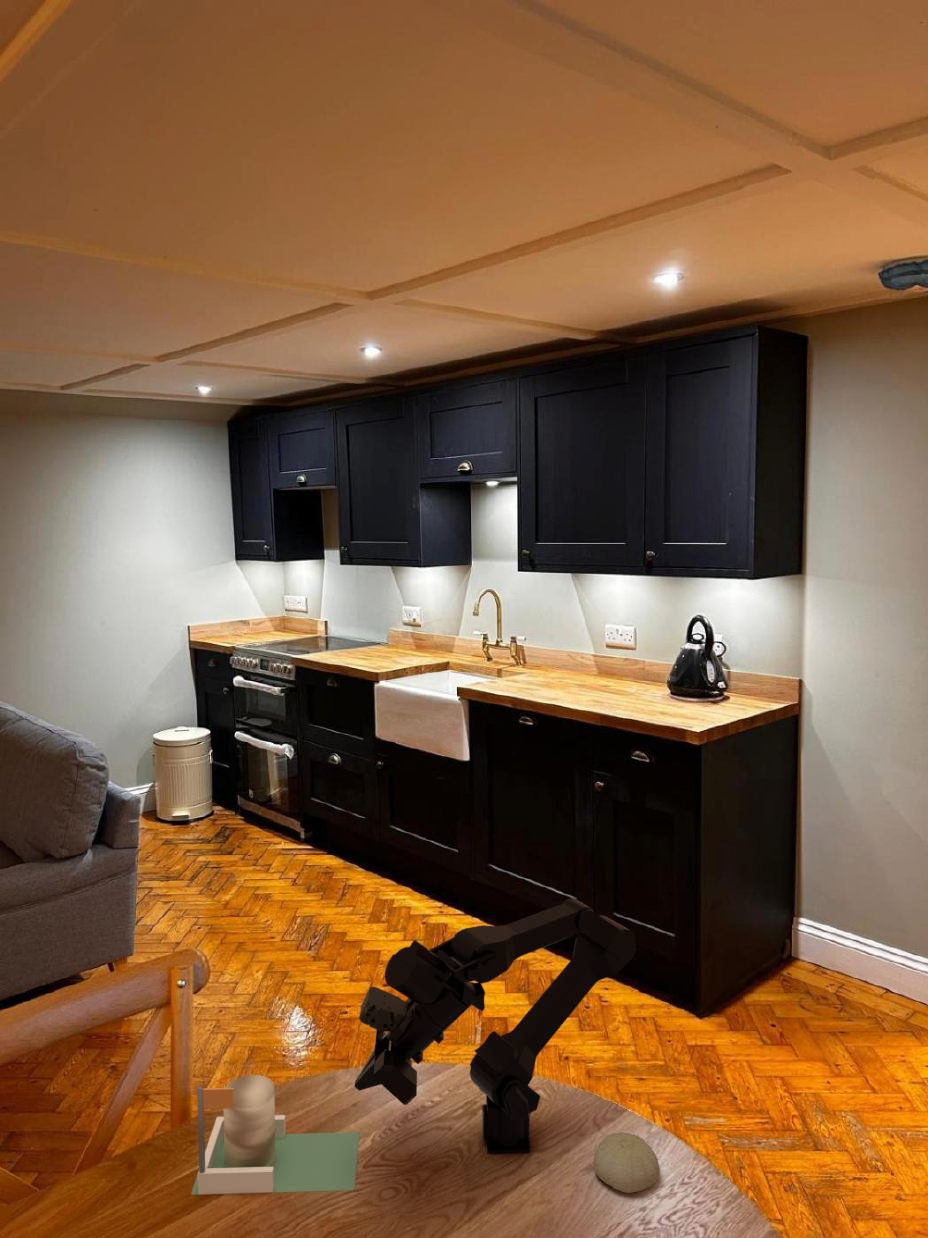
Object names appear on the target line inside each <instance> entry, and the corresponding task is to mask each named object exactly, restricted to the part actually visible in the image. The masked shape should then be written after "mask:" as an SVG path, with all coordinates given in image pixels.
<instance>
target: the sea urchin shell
mask: <svg viewBox="0 0 928 1238" xmlns="http://www.w3.org/2000/svg"><path fill="white" fill-rule="evenodd" d="M593 1155H594V1157H593V1166H594V1172H595V1173H596V1175H597V1177H598V1178H599V1179H600V1180H602V1181H603V1182H604V1184H606V1185H608V1186H610V1187H612V1188H613V1189H614V1190H618V1191H620V1192H622V1193H623V1194H625V1193H626V1194H631V1193H632V1194H633V1193H636V1191H637V1192H641V1191H643V1190H645V1189H644V1188H646V1189H647V1187H649V1186H650V1187H651V1186H653V1185H654V1184H655V1183H656V1182H657V1181H658V1179H659V1175H660V1170H661V1169H660V1164H659V1159H658V1156H657V1155H656V1153H655V1151H654V1150H653V1149H652V1147H651V1146H650V1144H649V1143H647V1141H645V1140H644V1139H643V1137H641V1136H639V1135H637V1134H633V1133H631V1132H612V1133H610V1134H607V1135H606V1136H605V1137H604V1138H603V1139H602V1140H601V1142H599V1144H598V1146H597V1148H596V1149H595V1151H594V1153H593ZM655 1181H656V1182H655ZM650 1187H649V1188H650Z"/></svg>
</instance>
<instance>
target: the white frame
mask: <svg viewBox="0 0 928 1238" xmlns="http://www.w3.org/2000/svg"><path fill="white" fill-rule="evenodd" d="M196 1092H197V1093H196V1099H197V1100H196V1102H197V1136H198V1140H197V1141H198V1142H197V1143H198V1144H197V1145H198V1171H197V1175H198V1194H208V1195H232V1194H231V1193H244V1194H268V1193H267V1192H273V1189H274V1167H242V1168H214V1167H215V1163H216V1160H217V1157H218V1154H219V1151H220V1148H221V1145H222V1141H223V1140H224V1116H217V1117H216V1119H215V1122H214V1125H213V1127H212V1131H211V1133H210V1136H209V1139H208V1142H207V1145H205V1144H206V1143H205V1111H204V1110H224V1109H234V1088H225V1087H217V1088H216V1087H215V1088H213V1087H212V1088H210V1087H207V1088H206V1087H205V1088H204V1086H202V1085H199V1086H197V1088H196ZM285 1134H287V1133H286V1115H285V1114H280V1115H279V1114H278V1115H276V1114H275V1139H283V1138H285Z"/></svg>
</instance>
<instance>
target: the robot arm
mask: <svg viewBox="0 0 928 1238" xmlns="http://www.w3.org/2000/svg"><path fill="white" fill-rule="evenodd" d="M576 935H577V937H576V938H575V943H574V946H573V947H574V949H573V954H572V957H571V959H570V961H569V962H567V964H566V965H565V967H564V968H563V969H562V970H561V971H560V972H559V974H558V975H557V976H556V978H555V979H554V980H553V981H552V982H551V983H550V985H549V986H548V987H547V988H546V990H544V992H543V993H542V995H540V997H539V998H538V999H537V1000H536V1002H535V1003H534V1004H533V1005H532V1006H531V1008H530V1009H529V1010H528V1011H527V1012H526V1014H525V1015H524V1016H523V1017H522V1019H521V1020H520V1021H518V1023H517V1024H516V1026H515V1027H514V1028H513V1029H511V1031H509V1032H507V1033H504V1034H501V1035H500V1034H499V1033H498V1032H496V1031H495V1030H494V1031H492V1032H491V1033H489V1034H488V1036H487V1037H486V1039H485V1040H484V1042H483V1043H482V1044H481V1045H480V1046H479V1047H477V1048H476V1049H475V1050H474V1053H475V1055H474V1056H473V1057H472V1059H471V1061H470V1063H469V1066H470V1067H469V1068H470V1069H469V1076H470V1079H471V1081H472V1083H473V1084H474V1085H475V1086H476V1087H477V1088H478V1089H479V1091H480V1092H483V1094H485V1104H482V1107H481V1131H482V1141H483V1142H485V1144H486V1147H485V1148H486V1152H487V1153H488V1154H505V1153H506V1154H508V1153H515V1154H516V1153H530V1152H532V1146H531V1145H532V1143H531V1138H530V1127H531V1126H530V1121H531V1120H530V1118H531V1117H530V1116H531V1113H533V1112H535V1111H537V1110H538V1107H539V1103H540V1099H541V1095H540V1094H539V1093H538V1092H536V1091H535V1089H533V1088H532V1087H531V1086H530V1083H531V1081H532V1079H533V1076H534V1071H535V1067H536V1060H537V1057H538V1055H539V1053H541V1052H542V1050H543V1049H544V1048H545V1046H546V1045H547V1044H548V1042H550V1040H551V1039H552V1038H553V1036H554V1035H556V1033H557V1032H558V1031H559V1029H560V1028H561V1027H562V1025H563V1024H564V1023H565V1021H566V1020H567V1019H568V1018H569V1017H570V1016H571V1014H572V1013H573V1012H574V1011H575V1009H576V1008H577V1007H578V1005H580V1003H581V1002H582V1001H583V999H584V998H585V997H586V996H587V994H589V992H590V991H591V990H592V989H593V987H594V986H595V985H596V983H597V982H599V981H601V980H605V979H607V978H608V977H611V976H614V975H617V974H618V973H619V972H620V971H621V970H622V969H623V968H625V966H626V965H628V963H629V962H631V961H632V959H633V957H634V956H635V954H636V951H637V949H636V947H637V946H636V944H637V940H636V936H635V934H634V932H633V931H632V930H631V929H629V928H627V927H625V926H623V925H622V924H619V923H618V922H616V921H614V919H613V920H612V919H611V918H609V917H607V916H605V915H602V914H601V915H600V914H598V913H596V912H595V911H594V910H593V908H592V907H590V906H588V905H586V904H584V903H583V902H581V901H579V900H578V899H575V898H568V899H565V900H564V901H562V902H561V904H558V905H555V906H552V907H550V908H548V909H545V910H542V911H539V912H537V913H533V914H531V915H529V916H526V917H524V918H520V919H518V920H516V921H513V922H510V923H508V924H507V923H506V924H504V925H498V926H497V925H484V924H483V925H476V926H472V927H465V928H462V929H461V930H459V931H457V933H455V935H454V937H451V938H449V939H447V940H446V941H444V942H442V943H440V944H438V945H435V946H434V947H432V948H430V949H428V948H427V947H426V946H425V945H423V944H422V943H421V942H419V941H417V940H416V939H415V940H412V942H411V944H410V945H409V946H405V947H402V948H401V949H399V950H398V951H397V952H396V953H395V954H394V953H393V954H392V955H391V957H390V958H389V960H388V962H387V964H386V966H385V971H384V980H385V983H386V985H388V987H390V988H391V989H393V990H395V991H397V992H398V993H400V994H402V996H404V997H405V998H407V999H405V1000H403V999H401V998H400V997H399V996H398V995H395V994H393V993H391V992H388V991H386V990H384V989H381V988H379V987H377V986H370V987H369V989H368V990H367V993H366V995H365V997H364V998H363V1001H362V1003H361V1005H360V1011H359V1016H358V1019H359V1020H360V1022H361V1023H362V1024H364V1025H366V1026H368V1027H369V1028H372V1029H374V1030H375V1043H374V1049H373V1051H372V1052H371V1055H370V1056H369V1058H368V1059H367V1061H366V1063H365V1064H364V1066H363V1068H362V1069H361V1071H360V1073H359V1074H358V1075H357V1077H356V1079H355V1081H354V1083H353V1084H354V1088H355V1089H357V1090H358V1091H363V1090H366V1089H370V1088H373V1087H378V1086H383V1088H385V1089H386V1090H387V1091H388V1092H389V1093H390V1094H391V1095H393V1097H395V1098H396V1100H397V1101H399V1103H402V1105H403V1106H408V1105H409V1104H410V1102H412V1100H414V1098H416V1097H417V1094H418V1090H417V1089H418V1071H417V1070H416V1069H415V1068H414V1067H413V1062H415V1063H416V1065H419V1064H420V1063H421V1062H422V1061H423V1060H424V1052H425V1051H426V1050H427V1049H428V1048H429V1047H430V1046H431V1045H432V1044H433V1043H435V1042H436V1044H438V1045H440V1044H441V1043H442V1042H443V1041H444V1039H445V1036H444V1035H445V1031H446V1030H447V1029H448V1028H450V1027H451V1026H452V1025H453V1024H454V1023H455V1022H456V1021H457V1020H458V1019H459V1018H460V1017H461V1016H462V1015H463V1014H464V1013H465V1012H467V1011H468V1009H469V1008H470V1007H471V1006H473V1007H474V1008H476V1009H478V1010H479V1011H481V1012H483V1011H484V1010H485V1009H486V1006H485V996H486V990H485V989H484V986H483V984H486V983H487V984H488V983H489V982H492V981H493V980H495V979H496V978H498V977H499V976H501V975H504V974H505V973H506V972H507V971H509V969H510V968H511V966H512V965H513V963H514V962H515V961H516V960H517V959H519V958H520V957H523V956H527V954H530V953H531V954H532V953H533V952H536V951H539V950H540V949H543V948H546V947H548V946H551V945H552V944H553V945H554V944H557V943H558V942H560V941H562V940H565V939H569V938H570V937H573V936H576Z"/></svg>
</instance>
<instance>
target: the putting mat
mask: <svg viewBox="0 0 928 1238" xmlns="http://www.w3.org/2000/svg"><path fill="white" fill-rule="evenodd" d="M360 1135H361V1131H355V1132H354V1131H353V1132H352V1131H351V1132H348V1131H347V1132H318V1133H317V1132H314V1133H308V1132H307V1133H286V1134H285V1138H283V1139H275V1164H274V1166H273V1167H274V1189H273V1192H267V1193H266V1194H274V1193H309V1192H311V1193H312V1192H343V1191H346V1192H347V1191H355V1184H356V1175H357V1165H358V1164H357V1163H358V1154H359V1145H360ZM214 1168H225V1150H224V1140H223V1141H222V1145H221V1148H220V1151H219V1154H218V1157H217V1160H216V1163H215V1167H214ZM234 1194H235V1195H237V1194H238V1195H240V1194H245V1193H231V1194H230V1195H234ZM190 1195H191V1196H197V1195H198V1196H200V1195H203V1196H204V1195H205V1196H206V1195H209V1194H198V1174H197V1175H196V1177H195V1181H194V1184H193V1187H192V1189H191V1193H190Z"/></svg>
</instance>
